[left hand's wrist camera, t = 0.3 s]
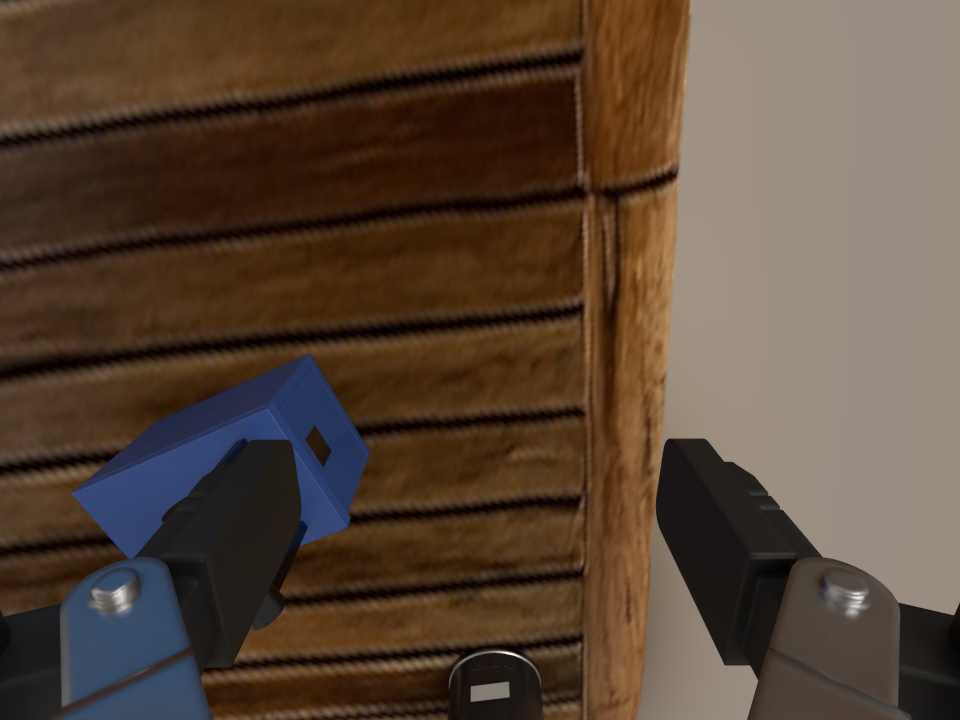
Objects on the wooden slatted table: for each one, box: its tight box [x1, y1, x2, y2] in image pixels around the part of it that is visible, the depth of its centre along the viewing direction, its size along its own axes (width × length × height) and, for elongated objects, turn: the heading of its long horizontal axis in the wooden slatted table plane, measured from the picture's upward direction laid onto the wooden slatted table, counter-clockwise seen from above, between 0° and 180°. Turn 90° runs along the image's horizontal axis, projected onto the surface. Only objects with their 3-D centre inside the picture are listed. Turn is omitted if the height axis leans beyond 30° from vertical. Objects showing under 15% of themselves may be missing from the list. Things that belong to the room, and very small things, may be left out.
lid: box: [72, 402, 350, 630], centre depth 32 cm, size 15×10×9 cm, turn 114°
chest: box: [83, 354, 370, 514], centre depth 40 cm, size 15×10×9 cm
